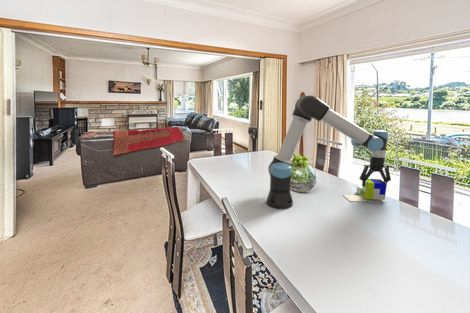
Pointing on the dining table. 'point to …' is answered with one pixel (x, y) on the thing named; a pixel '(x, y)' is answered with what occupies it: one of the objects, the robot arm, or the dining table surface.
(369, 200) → the board
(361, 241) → the dining table surface
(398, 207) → the dining table surface
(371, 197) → the puzzle toy
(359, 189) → the die
